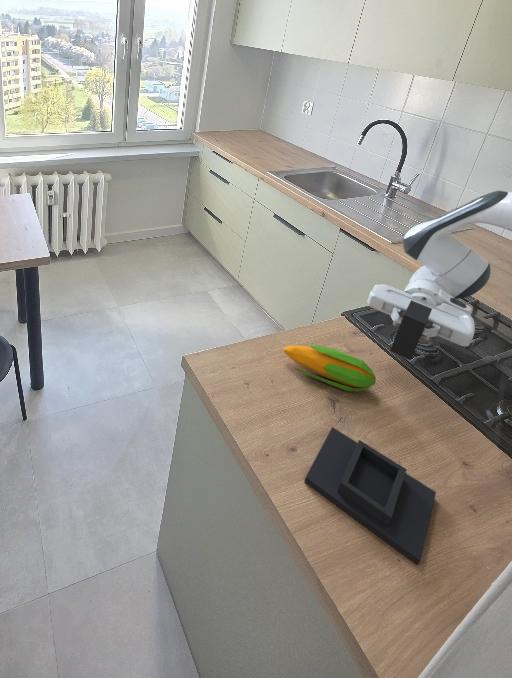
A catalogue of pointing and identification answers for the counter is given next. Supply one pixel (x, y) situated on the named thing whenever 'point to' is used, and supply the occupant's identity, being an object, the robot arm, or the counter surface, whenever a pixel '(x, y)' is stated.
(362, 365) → the corn
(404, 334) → the upright pad
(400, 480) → the base pad
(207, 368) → the counter surface
